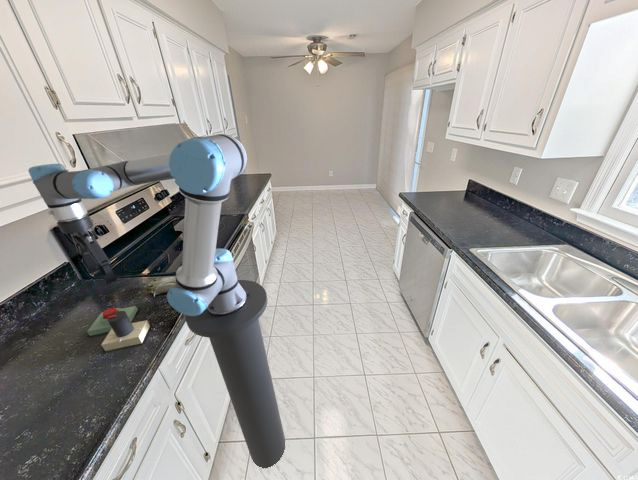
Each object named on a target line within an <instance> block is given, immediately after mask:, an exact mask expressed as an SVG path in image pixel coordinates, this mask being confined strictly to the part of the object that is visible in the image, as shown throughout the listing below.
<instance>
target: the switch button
mask: <svg viewBox="0 0 638 480" xmlns="http://www.w3.org/2000/svg"><path fill="white" fill-rule="evenodd" d="M116 308H117V307H110V308H107V309H105V310H104V311H102V312H103V316H104V318H105V319H108V316H111V315H112V314H114V313H116V312H117V310H116Z"/></svg>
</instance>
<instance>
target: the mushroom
mask: <svg viewBox="0 0 638 480" xmlns="http://www.w3.org/2000/svg"><path fill="white" fill-rule="evenodd" d="M175 283H176V276H165V277H161V278H158V279H157V278H153V281H151V280H150V281H149V282H148V283H147V287H146V288H145V291H146V293H149V294H152V295H153V297H154V298H155V297H156V295H162V294H165V293H168V292H169V290H170V289H171V288H173V287H174V286H175Z"/></svg>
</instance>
